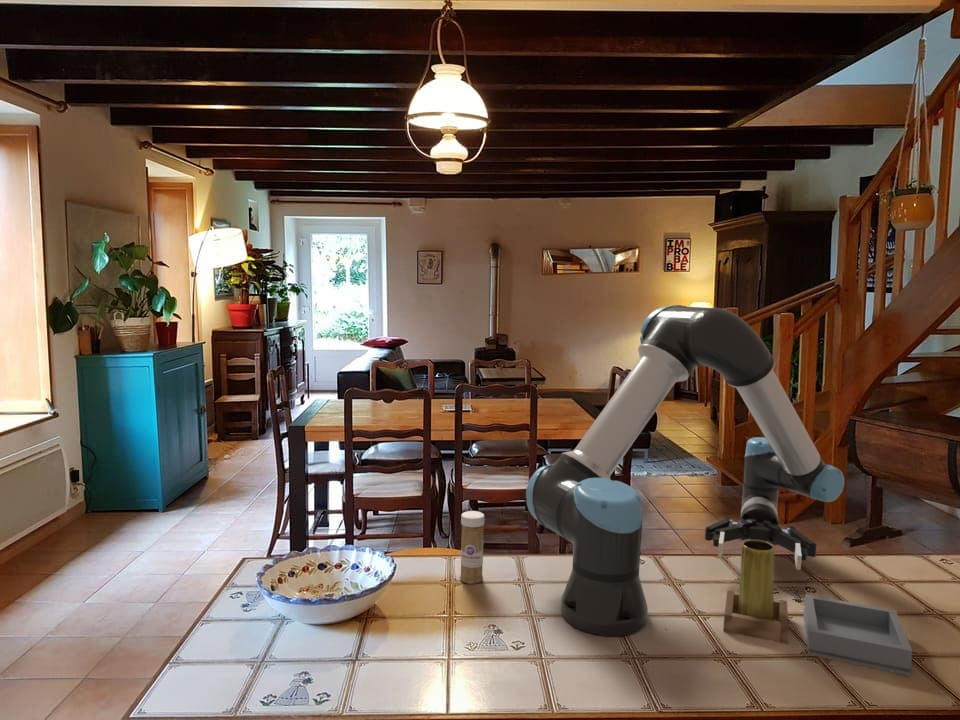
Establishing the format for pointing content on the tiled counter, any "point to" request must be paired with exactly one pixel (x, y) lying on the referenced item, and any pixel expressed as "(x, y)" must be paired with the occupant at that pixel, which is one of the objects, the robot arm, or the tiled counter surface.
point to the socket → (757, 621)
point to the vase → (756, 579)
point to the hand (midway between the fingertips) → (758, 556)
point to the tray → (856, 634)
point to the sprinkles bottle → (472, 547)
